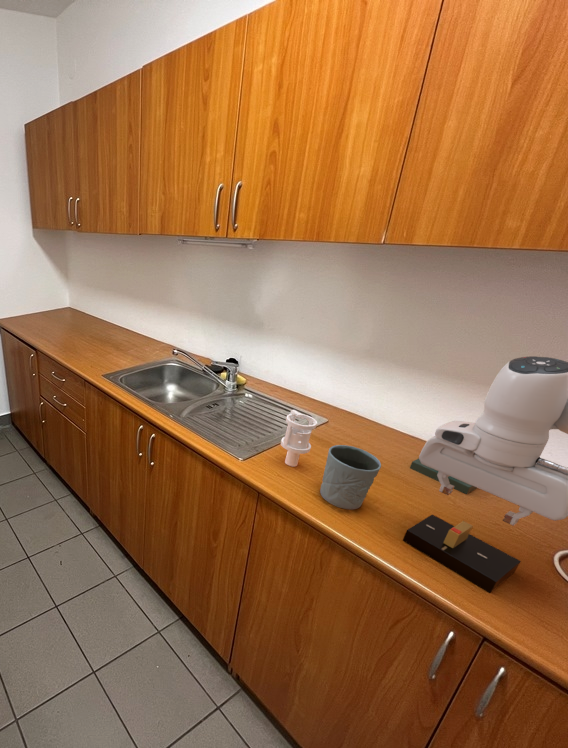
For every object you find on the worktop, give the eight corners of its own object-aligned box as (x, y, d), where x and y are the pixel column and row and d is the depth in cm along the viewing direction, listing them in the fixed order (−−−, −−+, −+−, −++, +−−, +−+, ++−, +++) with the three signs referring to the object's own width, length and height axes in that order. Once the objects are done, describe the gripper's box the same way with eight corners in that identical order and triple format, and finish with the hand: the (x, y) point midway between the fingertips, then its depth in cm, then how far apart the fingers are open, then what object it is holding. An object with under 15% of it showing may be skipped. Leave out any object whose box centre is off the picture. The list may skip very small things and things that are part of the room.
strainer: (292, 454, 113) (303, 408, 107) (311, 468, 107) (324, 420, 101) (271, 457, 112) (281, 411, 106) (289, 472, 105) (301, 423, 100)
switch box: (485, 482, 100) (492, 469, 99) (466, 494, 96) (472, 481, 95) (429, 458, 110) (434, 446, 109) (409, 468, 106) (414, 455, 105)
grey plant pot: (316, 480, 102) (327, 440, 98) (363, 491, 98) (377, 451, 93) (318, 504, 94) (330, 462, 89) (370, 518, 90) (385, 474, 85)
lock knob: (457, 533, 81) (463, 519, 80) (466, 539, 80) (474, 524, 78) (442, 543, 79) (449, 528, 78) (452, 548, 78) (459, 534, 76)
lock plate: (514, 572, 76) (521, 560, 75) (489, 593, 72) (496, 581, 71) (427, 524, 88) (432, 513, 86) (402, 540, 84) (407, 529, 82)
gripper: (600, 470, 63) (562, 536, 68) (442, 417, 80) (421, 473, 85) (586, 482, 61) (547, 550, 66) (426, 425, 78) (405, 482, 83)
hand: (475, 506), depth 76 cm, fingers open, 8 cm apart
